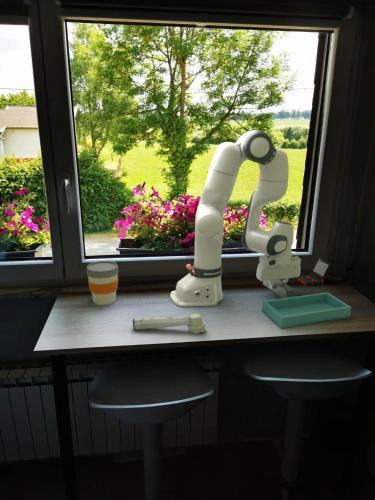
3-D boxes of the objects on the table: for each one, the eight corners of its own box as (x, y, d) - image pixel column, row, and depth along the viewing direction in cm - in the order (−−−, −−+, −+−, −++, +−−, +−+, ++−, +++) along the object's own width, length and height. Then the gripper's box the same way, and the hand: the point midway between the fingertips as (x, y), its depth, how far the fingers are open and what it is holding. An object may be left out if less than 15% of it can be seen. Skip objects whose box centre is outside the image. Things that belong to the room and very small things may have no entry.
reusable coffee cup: (112, 291, 159) (111, 258, 155) (124, 302, 149) (123, 267, 145) (84, 297, 153) (81, 264, 148) (94, 309, 143) (92, 273, 138)
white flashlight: (134, 315, 131) (203, 309, 129) (137, 331, 133) (205, 325, 131) (131, 322, 126) (203, 316, 124) (134, 339, 128) (205, 333, 126)
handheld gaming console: (295, 278, 177) (297, 259, 174) (316, 276, 181) (319, 257, 177) (307, 286, 168) (309, 265, 165) (329, 283, 172) (332, 263, 169)
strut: (294, 299, 154) (295, 288, 152) (284, 301, 152) (285, 290, 151) (270, 282, 172) (271, 272, 170) (261, 283, 170) (261, 273, 169)
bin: (280, 329, 131) (281, 317, 130) (261, 311, 144) (262, 301, 142) (349, 317, 140) (351, 307, 138) (325, 302, 152) (327, 292, 151)
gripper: (296, 253, 163) (293, 282, 167) (255, 257, 157) (253, 287, 161) (305, 258, 158) (301, 287, 162) (263, 262, 151) (260, 293, 156)
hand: (277, 287), depth 161 cm, fingers closed on strut, 4 cm apart
